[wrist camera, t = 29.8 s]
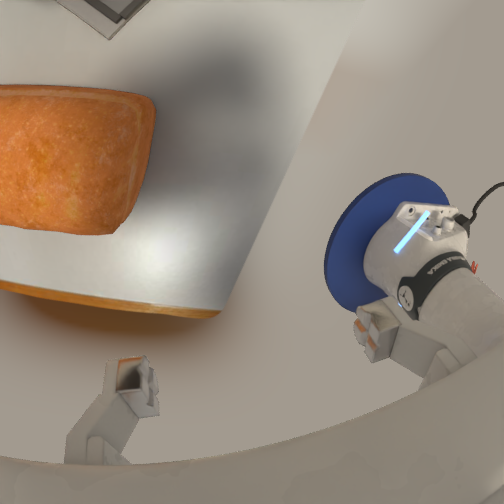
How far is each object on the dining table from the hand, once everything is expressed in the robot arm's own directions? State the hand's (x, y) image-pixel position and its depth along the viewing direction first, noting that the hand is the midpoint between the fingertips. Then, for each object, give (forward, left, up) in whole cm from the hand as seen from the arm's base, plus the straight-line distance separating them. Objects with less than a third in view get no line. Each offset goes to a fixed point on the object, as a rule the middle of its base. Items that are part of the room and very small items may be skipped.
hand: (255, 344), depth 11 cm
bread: (+18, -7, -31) cm, 37 cm away
